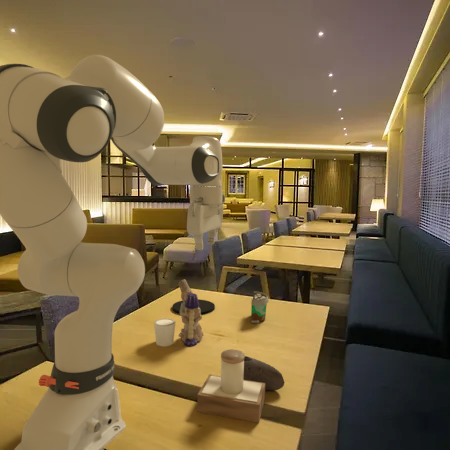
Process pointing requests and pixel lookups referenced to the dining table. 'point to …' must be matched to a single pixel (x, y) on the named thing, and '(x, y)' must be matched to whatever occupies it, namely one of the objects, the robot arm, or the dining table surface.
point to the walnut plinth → (232, 400)
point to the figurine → (185, 314)
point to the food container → (258, 307)
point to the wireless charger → (203, 305)
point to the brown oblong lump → (262, 374)
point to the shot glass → (164, 332)
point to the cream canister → (232, 371)
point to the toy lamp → (191, 318)
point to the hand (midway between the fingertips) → (205, 246)
